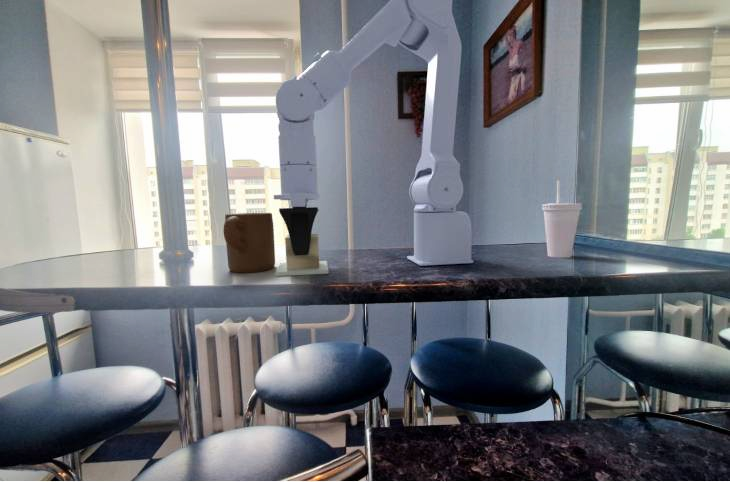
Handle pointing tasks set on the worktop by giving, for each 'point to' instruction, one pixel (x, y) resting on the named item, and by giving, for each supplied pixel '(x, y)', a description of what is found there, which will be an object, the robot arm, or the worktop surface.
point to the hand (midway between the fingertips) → (302, 251)
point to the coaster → (302, 270)
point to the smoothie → (560, 226)
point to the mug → (249, 242)
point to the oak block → (303, 260)
